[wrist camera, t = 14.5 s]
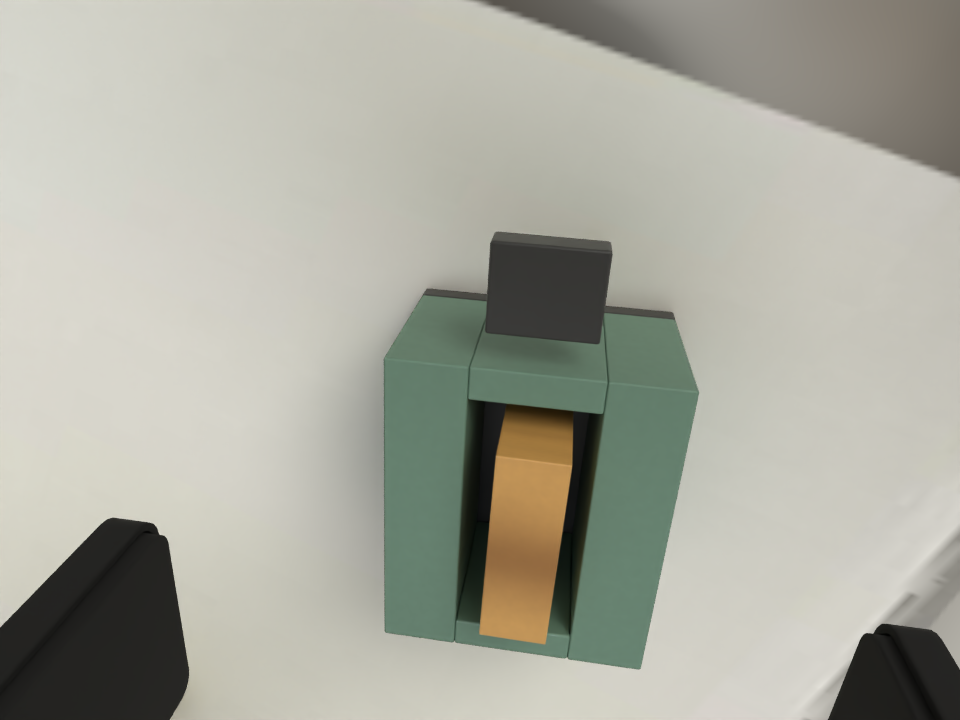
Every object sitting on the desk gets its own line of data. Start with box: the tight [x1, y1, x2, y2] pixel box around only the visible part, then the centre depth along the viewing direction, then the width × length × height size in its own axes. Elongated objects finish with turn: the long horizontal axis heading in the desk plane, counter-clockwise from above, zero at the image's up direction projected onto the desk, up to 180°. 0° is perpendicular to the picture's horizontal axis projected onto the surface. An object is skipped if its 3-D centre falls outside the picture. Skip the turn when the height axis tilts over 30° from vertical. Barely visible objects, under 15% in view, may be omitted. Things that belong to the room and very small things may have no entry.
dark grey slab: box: [485, 232, 612, 344], centre depth 22 cm, size 3×4×1 cm
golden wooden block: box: [479, 404, 574, 644], centre depth 27 cm, size 8×2×8 cm, turn 176°
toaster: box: [384, 289, 699, 669], centre depth 28 cm, size 12×10×7 cm
